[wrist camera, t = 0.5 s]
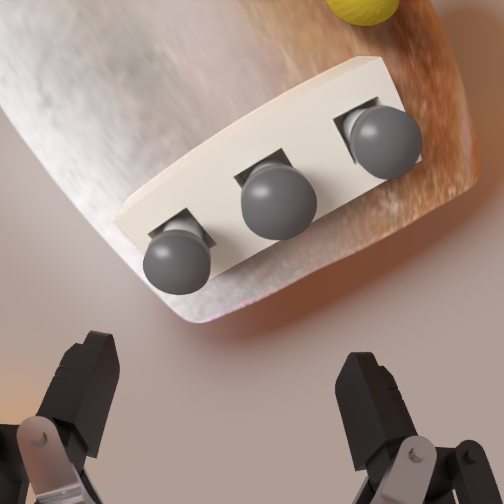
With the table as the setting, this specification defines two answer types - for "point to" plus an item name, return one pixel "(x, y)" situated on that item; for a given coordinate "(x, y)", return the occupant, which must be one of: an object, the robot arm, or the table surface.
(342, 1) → the lemon
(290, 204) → the knob middle
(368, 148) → the knob
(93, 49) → the table surface
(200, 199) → the knob panel
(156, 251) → the knob
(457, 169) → the table surface
